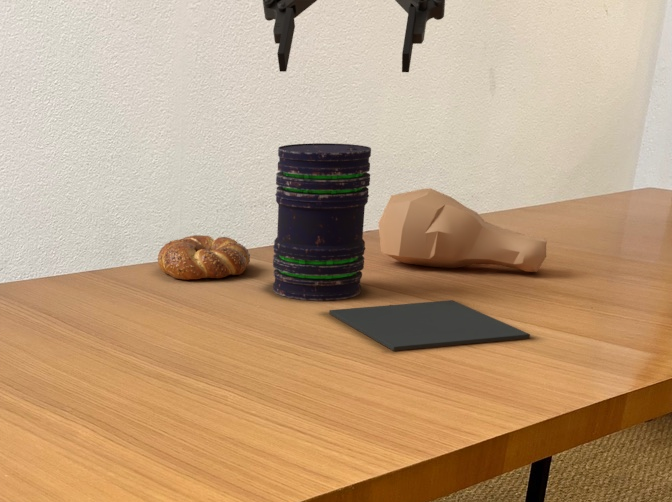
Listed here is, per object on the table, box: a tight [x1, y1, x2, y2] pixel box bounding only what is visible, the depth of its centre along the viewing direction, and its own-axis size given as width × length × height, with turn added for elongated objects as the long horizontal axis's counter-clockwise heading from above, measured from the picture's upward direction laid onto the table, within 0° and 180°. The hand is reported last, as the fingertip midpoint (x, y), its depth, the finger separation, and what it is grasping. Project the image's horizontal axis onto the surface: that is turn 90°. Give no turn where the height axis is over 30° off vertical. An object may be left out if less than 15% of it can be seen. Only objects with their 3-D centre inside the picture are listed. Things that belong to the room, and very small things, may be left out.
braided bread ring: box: [157, 234, 251, 281], centre depth 124 cm, size 12×11×4 cm
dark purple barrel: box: [272, 142, 372, 301], centre depth 113 cm, size 10×10×15 cm
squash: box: [378, 187, 548, 273], centre depth 125 cm, size 11×20×9 cm, turn 66°
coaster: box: [329, 299, 531, 352], centre depth 102 cm, size 14×14×1 cm
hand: (342, 63), depth 116 cm, fingers open, 13 cm apart
